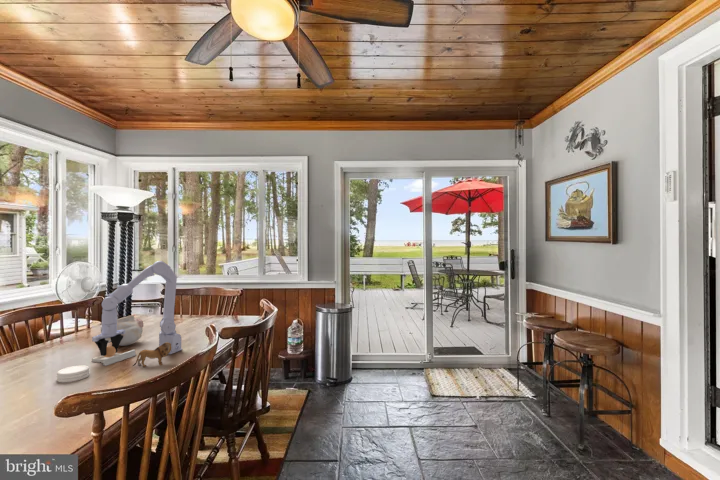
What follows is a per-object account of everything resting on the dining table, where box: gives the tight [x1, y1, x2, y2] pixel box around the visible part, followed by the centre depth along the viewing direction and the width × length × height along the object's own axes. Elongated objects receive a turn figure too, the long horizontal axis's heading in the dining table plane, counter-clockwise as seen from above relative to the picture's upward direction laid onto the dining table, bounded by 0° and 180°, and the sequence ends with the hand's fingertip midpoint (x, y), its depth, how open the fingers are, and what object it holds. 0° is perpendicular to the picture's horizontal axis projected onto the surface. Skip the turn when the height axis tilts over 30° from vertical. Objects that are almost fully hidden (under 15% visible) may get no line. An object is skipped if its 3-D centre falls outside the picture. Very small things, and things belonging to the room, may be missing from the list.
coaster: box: [56, 365, 90, 383], centre depth 141 cm, size 10×10×4 cm
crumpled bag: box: [100, 315, 144, 347], centre depth 186 cm, size 16×19×15 cm
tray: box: [91, 352, 120, 364], centre depth 163 cm, size 9×9×1 cm
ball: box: [105, 345, 117, 357], centre depth 163 cm, size 5×5×5 cm
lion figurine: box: [132, 342, 172, 367], centre depth 156 cm, size 15×5×9 cm, turn 118°
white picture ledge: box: [102, 349, 137, 367], centre depth 162 cm, size 2×15×2 cm, turn 165°
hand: (109, 353), depth 163 cm, fingers closed on ball, 5 cm apart
